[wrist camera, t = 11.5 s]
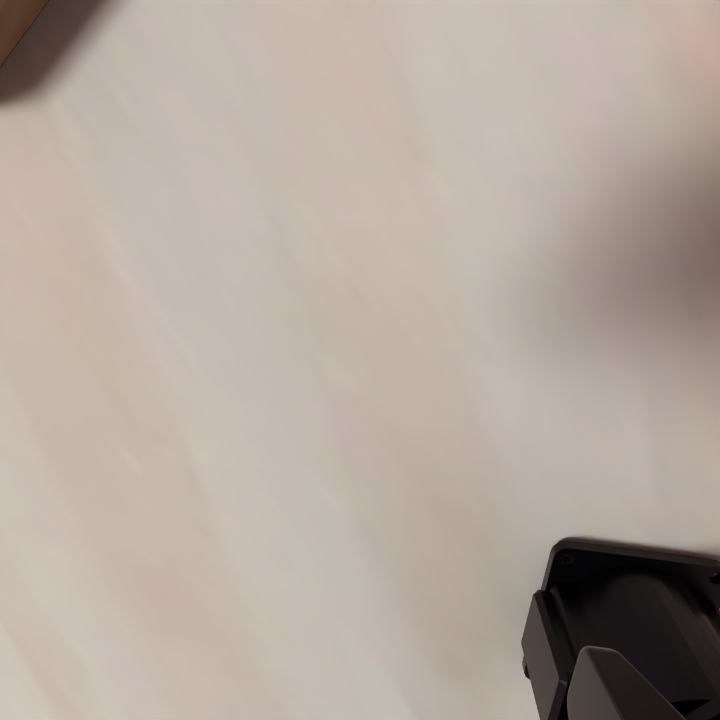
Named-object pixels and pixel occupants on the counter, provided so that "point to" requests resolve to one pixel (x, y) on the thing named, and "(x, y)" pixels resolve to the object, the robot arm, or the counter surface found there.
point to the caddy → (16, 22)
